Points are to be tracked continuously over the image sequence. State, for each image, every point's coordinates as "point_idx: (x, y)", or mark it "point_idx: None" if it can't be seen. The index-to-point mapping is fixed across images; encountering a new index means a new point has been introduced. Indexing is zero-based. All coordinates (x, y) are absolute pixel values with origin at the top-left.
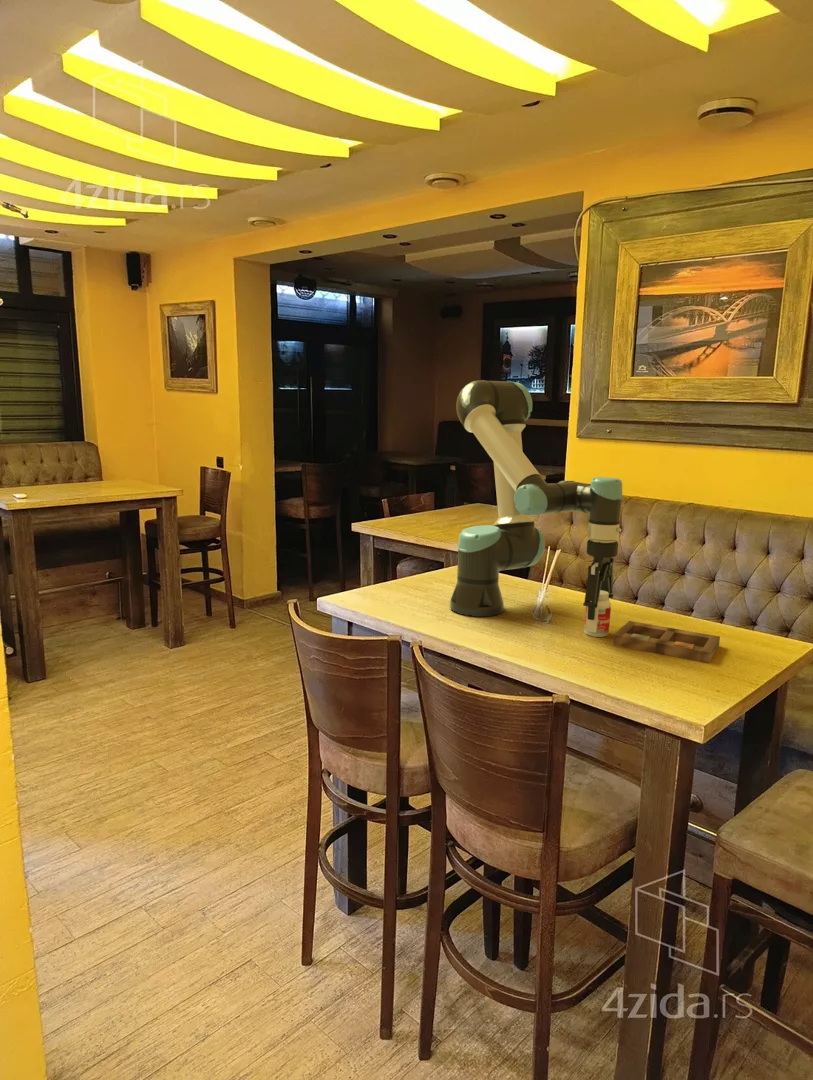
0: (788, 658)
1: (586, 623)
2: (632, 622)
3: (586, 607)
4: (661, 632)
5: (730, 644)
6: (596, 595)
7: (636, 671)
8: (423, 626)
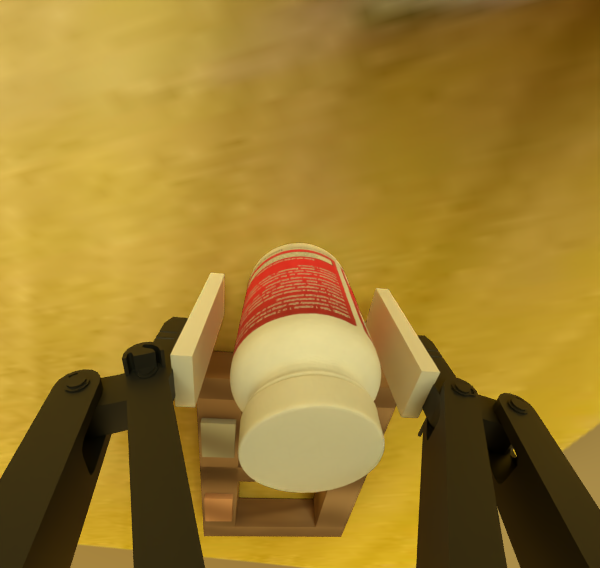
0: (317, 564)
1: (202, 293)
2: (384, 399)
3: (265, 314)
4: None
5: (360, 518)
6: (87, 499)
7: (23, 424)
8: None
